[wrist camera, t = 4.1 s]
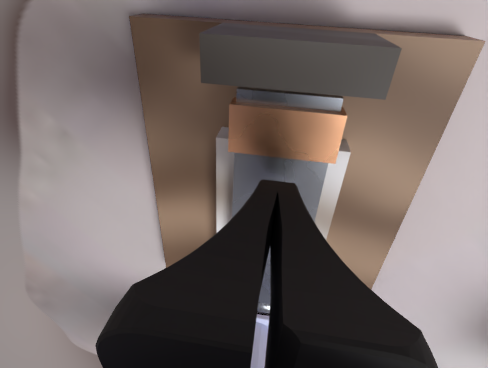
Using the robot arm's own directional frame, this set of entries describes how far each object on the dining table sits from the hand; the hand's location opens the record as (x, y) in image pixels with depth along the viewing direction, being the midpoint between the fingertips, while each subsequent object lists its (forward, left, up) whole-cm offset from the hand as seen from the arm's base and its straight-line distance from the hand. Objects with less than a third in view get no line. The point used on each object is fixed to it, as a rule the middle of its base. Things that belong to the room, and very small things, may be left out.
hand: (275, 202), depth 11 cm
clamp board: (-3, 0, -6) cm, 6 cm away
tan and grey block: (-3, 0, -3) cm, 4 cm away
